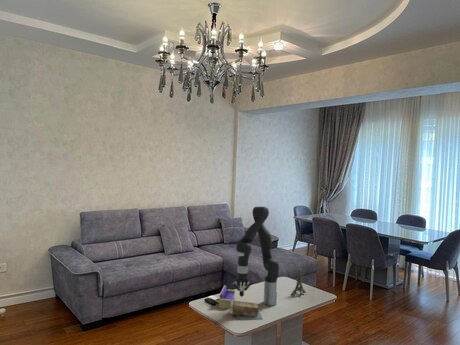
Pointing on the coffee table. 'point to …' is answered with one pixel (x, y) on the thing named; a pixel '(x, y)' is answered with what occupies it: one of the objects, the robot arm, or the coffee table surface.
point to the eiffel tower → (299, 284)
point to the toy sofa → (226, 297)
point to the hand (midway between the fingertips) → (241, 296)
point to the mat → (249, 316)
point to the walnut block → (244, 308)
